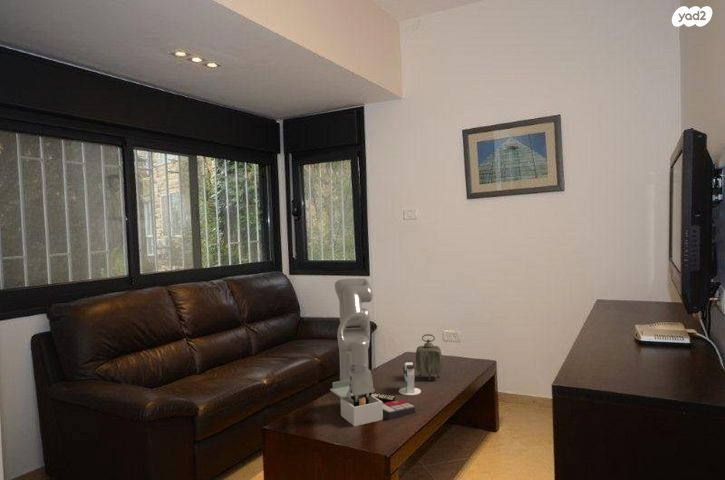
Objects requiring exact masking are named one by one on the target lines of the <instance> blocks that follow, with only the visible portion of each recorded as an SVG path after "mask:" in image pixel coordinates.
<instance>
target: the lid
mask: <svg viewBox="0 0 725 480" xmlns="http://www.w3.org/2000/svg"><path fill="white" fill-rule="evenodd" d="M349 380H350V379H348V380H343V381H340V380H338V381H334V382H332V388H330V389H329V390H330V392H332V393H334V394H335V395H336V396H337V397H338V398H339V399H340V398H341V399H348V398H350V397H348V396H347V395H346V394H347V392H348V390H349ZM351 395H352V396H353V394H352V393H351ZM363 395H364V394H363Z"/></svg>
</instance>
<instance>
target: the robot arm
mask: <svg viewBox="0 0 725 480" xmlns="http://www.w3.org/2000/svg"><path fill="white" fill-rule="evenodd" d="M372 289H373V288H372V287H371V284H370V282H369V281H368V279H367V278H345V279H344V278H343V279H338V280H336V281H335V282H334V290H335V293H336V296H337V297H338V302H339V307H338V308H339V322H340V324H339V325H338V328H337V336H336V337H337V342H338V344H337V345H338V351H339V381H343V380H348V379H350V380H349V390H348V392H347V394H346V395H347V396H348V397H350V398H351V399H353V400H354V407H356V406H359V402H358V395H363V394H364V395H365V396H366V404H369V399H370V396H371V395H373V394H374V393H375V392H376V389H375V388H374V384H373V383H374V382H373V376H372V372H371V371H372V370H371V369H370V368H369V365H370V364H369V348H370V342H371V319H370V318H371V316H370V311H369V310H368V308H366V307H363V306H362V303H370V302H372V300H373V290H372ZM348 327H349V328H348ZM351 393H352V394H353V396H352V395H351Z"/></svg>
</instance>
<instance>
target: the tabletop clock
mask: <svg viewBox="0 0 725 480" xmlns="http://www.w3.org/2000/svg"><path fill="white" fill-rule="evenodd" d="M426 336H431V337H433V339H428V338H427V340H425V339H424V337H426ZM435 338H436V337H435V336H434V335H433V334H429V333H426V334H423V336H422V337H421V340H422V341H423V342H425V343H424V344H423V345H419V346H418V347H416V350H415V365H416V371H417V373H418V376H417V377H418V378H422V375H428V378H427V379H428V381H432V378H431V375H437V378H441V375H440V374H441V373H442V369H443V357H442V356H443V354H442V351H441V347H440V346H437V345H433V342H434V341H435Z"/></svg>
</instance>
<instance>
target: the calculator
mask: <svg viewBox="0 0 725 480" xmlns="http://www.w3.org/2000/svg"><path fill="white" fill-rule="evenodd" d="M382 404H383V419H385V420H387V421H391V420H395V419H398V418H401V417H406V416H408V415H409V416H410V415H413V414H415V413H416V406H414V405H413V404H412V403H411V404H410V403H409V402H407V401H405V400H403V399H398V400H393V401H387V402H384V403H382Z"/></svg>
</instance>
